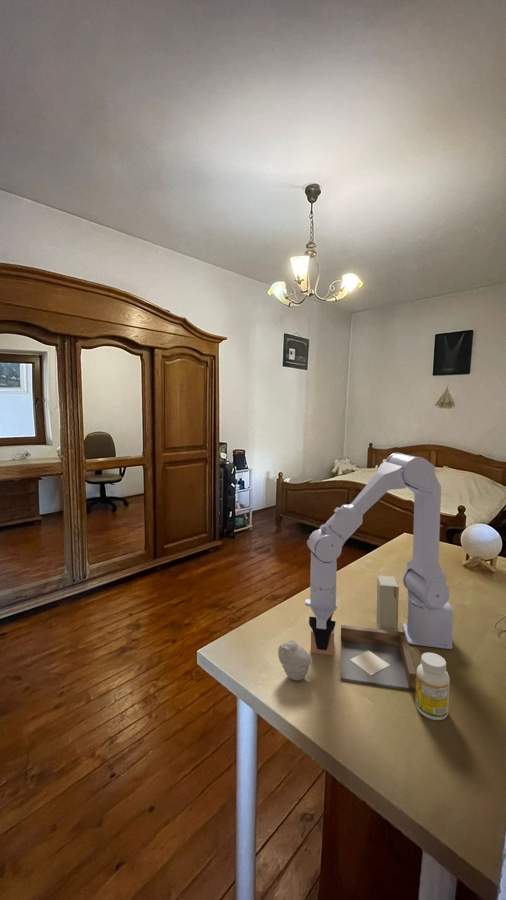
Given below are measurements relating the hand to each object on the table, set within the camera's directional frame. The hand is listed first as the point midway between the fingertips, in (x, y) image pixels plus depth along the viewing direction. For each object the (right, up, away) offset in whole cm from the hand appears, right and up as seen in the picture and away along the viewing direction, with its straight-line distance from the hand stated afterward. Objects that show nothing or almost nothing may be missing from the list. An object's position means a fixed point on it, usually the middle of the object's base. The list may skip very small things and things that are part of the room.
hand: (322, 641), depth 86 cm
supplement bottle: (+16, -3, -18) cm, 24 cm away
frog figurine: (-7, -3, -9) cm, 12 cm away
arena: (+10, -2, -5) cm, 11 cm away
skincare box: (+17, -1, +7) cm, 19 cm away
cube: (0, -1, 0) cm, 1 cm away
